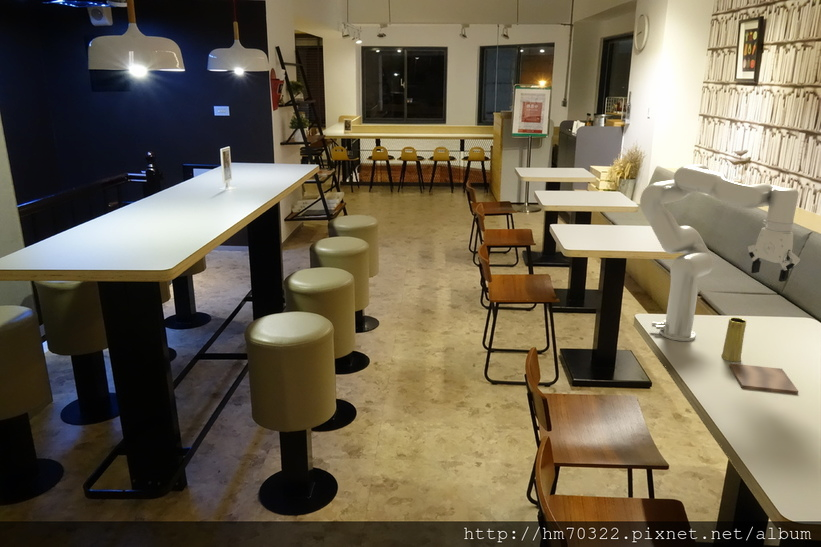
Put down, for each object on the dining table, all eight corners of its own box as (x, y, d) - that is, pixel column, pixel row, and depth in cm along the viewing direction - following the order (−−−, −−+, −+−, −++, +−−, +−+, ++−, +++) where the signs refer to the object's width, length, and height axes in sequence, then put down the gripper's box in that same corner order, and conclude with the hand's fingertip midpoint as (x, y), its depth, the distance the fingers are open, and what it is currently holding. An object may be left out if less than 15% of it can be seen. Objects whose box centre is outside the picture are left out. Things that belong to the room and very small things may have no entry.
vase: (742, 362, 215) (750, 324, 211) (723, 361, 216) (730, 322, 212) (737, 355, 221) (744, 317, 217) (719, 353, 222) (725, 316, 218)
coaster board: (741, 387, 198) (742, 385, 197) (729, 366, 213) (730, 363, 212) (797, 394, 194) (798, 391, 194) (781, 371, 209) (782, 368, 209)
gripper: (746, 221, 207) (737, 271, 213) (797, 233, 193) (786, 286, 198) (761, 219, 211) (751, 268, 216) (812, 231, 196) (801, 282, 201)
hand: (768, 276), depth 207 cm, fingers open, 9 cm apart
